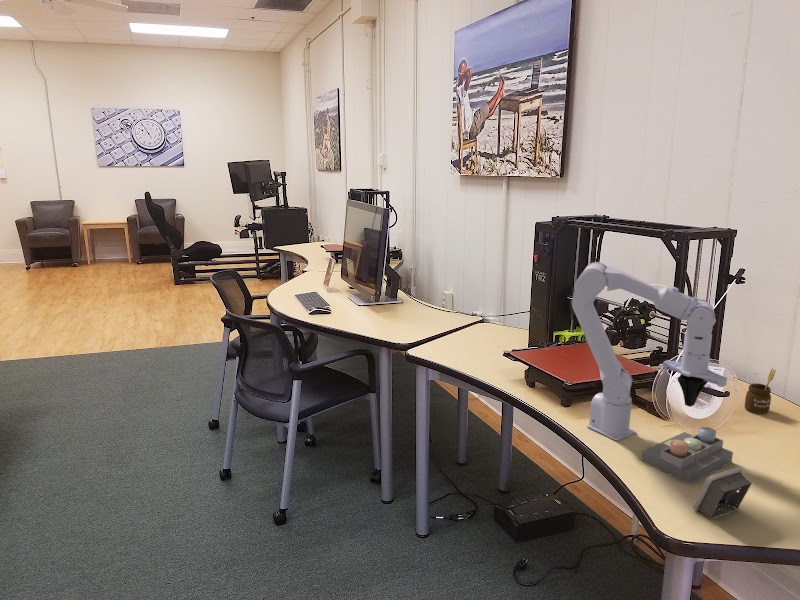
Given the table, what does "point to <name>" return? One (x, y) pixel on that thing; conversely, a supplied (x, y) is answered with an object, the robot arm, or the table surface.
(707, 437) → the slate button
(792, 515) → the table surface
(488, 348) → the table surface
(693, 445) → the sage button
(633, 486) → the table surface
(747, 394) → the utensil holder
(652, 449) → the console
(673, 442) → the terracotta button
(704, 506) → the electrical switch
